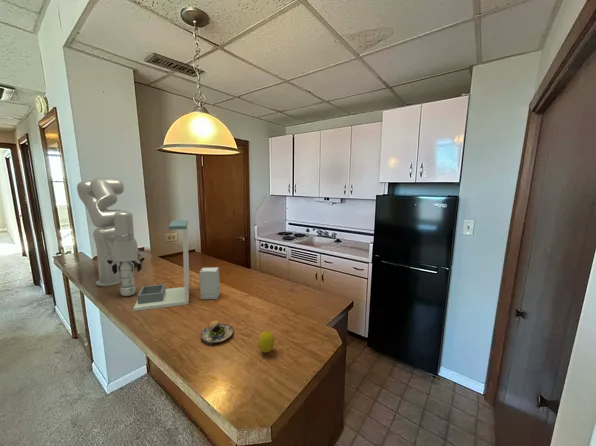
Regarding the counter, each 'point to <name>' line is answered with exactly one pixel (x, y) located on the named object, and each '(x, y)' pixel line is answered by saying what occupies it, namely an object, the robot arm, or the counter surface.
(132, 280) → the grey tall bottle shape
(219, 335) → the plate of salad
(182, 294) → the socket stand
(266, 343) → the lemon
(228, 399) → the counter surface
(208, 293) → the skincare box
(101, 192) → the robot arm
